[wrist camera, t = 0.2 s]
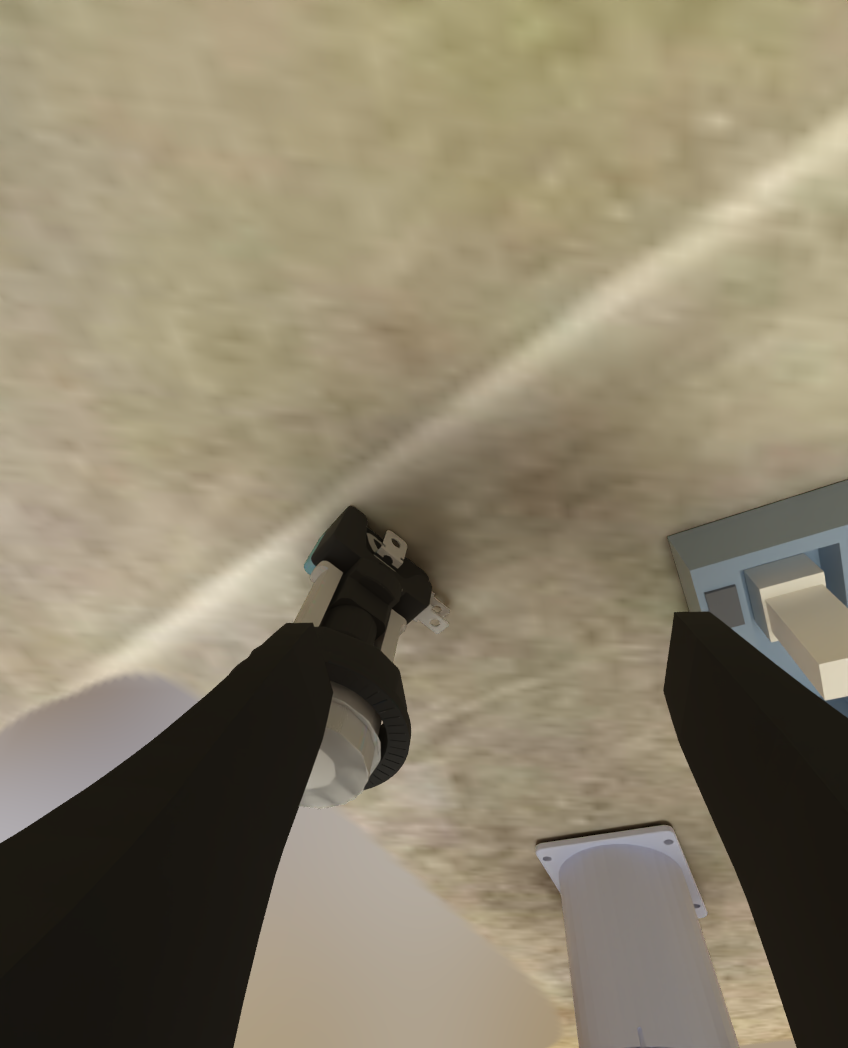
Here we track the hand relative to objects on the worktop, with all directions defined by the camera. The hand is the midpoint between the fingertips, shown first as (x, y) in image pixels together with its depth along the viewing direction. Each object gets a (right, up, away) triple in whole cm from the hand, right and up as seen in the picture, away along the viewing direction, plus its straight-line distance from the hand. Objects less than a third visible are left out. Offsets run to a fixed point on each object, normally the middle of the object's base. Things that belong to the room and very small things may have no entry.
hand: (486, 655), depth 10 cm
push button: (-3, +1, +11) cm, 12 cm away
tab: (+12, 0, +8) cm, 15 cm away
